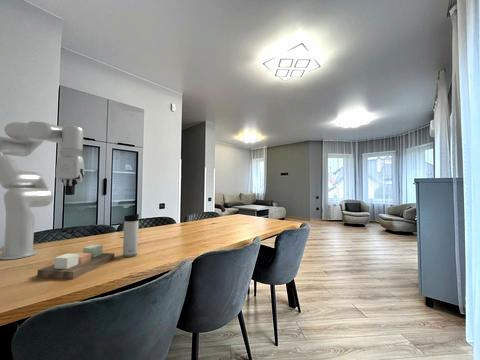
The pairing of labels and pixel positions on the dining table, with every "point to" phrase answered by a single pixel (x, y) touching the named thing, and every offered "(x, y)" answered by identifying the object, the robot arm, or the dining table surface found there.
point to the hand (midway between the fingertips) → (69, 194)
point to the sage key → (93, 250)
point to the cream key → (66, 261)
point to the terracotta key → (84, 257)
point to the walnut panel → (75, 268)
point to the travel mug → (130, 235)
